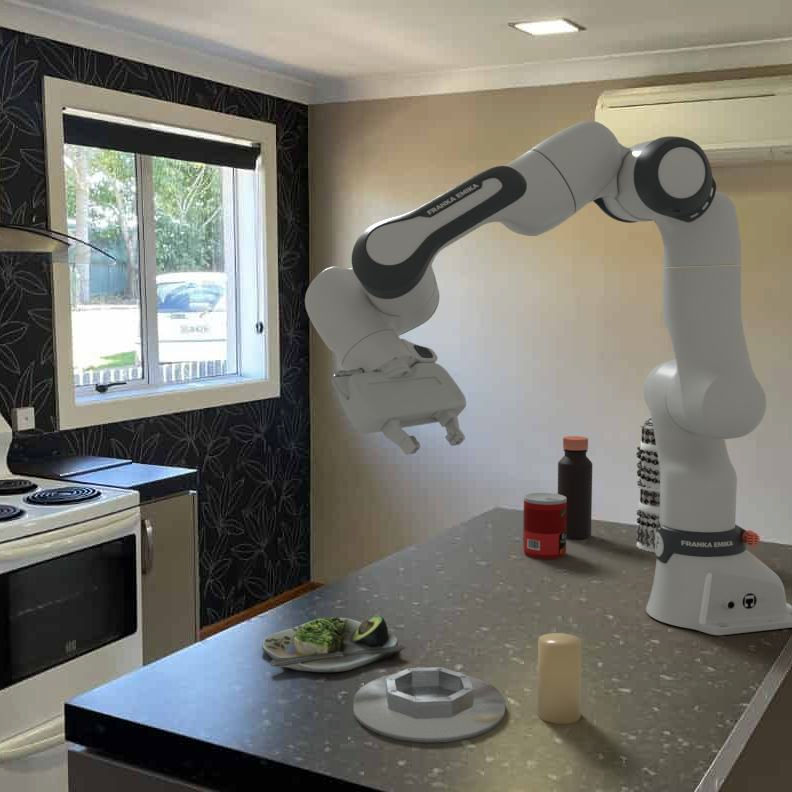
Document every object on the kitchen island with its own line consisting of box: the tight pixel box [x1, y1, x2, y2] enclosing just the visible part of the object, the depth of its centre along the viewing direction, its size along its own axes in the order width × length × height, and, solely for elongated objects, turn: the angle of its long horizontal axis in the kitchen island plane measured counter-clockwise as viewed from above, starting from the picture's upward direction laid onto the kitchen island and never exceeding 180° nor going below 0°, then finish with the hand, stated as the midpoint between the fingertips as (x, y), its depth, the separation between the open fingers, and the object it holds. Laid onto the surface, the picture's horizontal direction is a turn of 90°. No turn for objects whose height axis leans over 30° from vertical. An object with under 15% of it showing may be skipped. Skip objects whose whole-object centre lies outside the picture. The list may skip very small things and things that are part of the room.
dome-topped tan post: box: [536, 632, 583, 725], centre depth 114 cm, size 5×5×9 cm
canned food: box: [522, 492, 567, 560], centre depth 184 cm, size 8×8×11 cm
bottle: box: [557, 435, 593, 540], centre depth 197 cm, size 7×7×20 cm
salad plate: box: [261, 615, 407, 673], centre depth 134 cm, size 19×18×5 cm
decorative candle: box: [635, 417, 660, 553], centre depth 187 cm, size 9×9×25 cm
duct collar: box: [353, 666, 506, 744], centre depth 116 cm, size 18×18×3 cm
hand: (437, 446), depth 127 cm, fingers open, 8 cm apart
